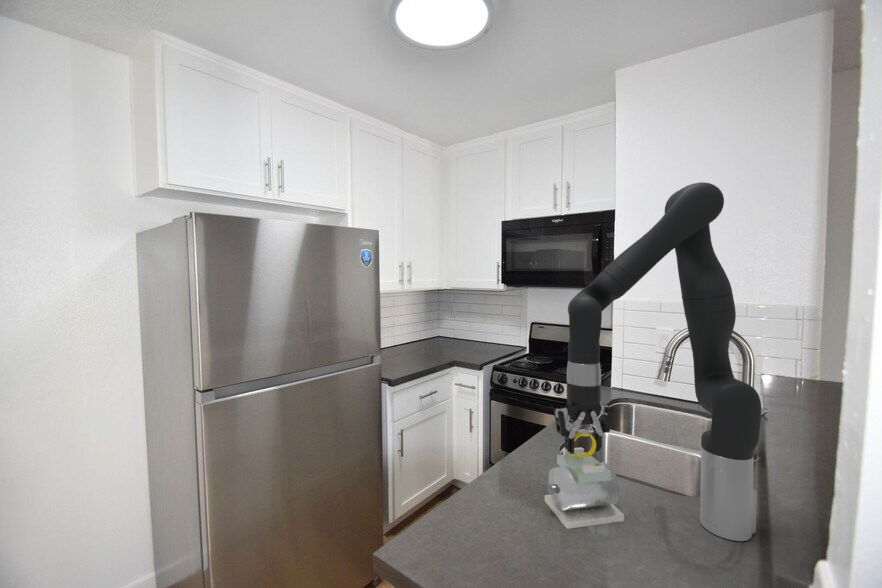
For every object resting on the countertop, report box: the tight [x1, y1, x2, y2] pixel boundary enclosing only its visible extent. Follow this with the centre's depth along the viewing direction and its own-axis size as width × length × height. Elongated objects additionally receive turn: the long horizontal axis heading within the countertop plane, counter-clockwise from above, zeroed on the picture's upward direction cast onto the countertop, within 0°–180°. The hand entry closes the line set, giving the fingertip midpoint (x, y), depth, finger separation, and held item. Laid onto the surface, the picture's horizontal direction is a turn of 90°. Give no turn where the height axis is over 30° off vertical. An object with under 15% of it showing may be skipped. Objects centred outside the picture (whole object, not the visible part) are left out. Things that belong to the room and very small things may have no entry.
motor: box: [544, 447, 625, 530], centre depth 92 cm, size 16×11×13 cm
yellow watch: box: [573, 428, 597, 457], centre depth 92 cm, size 6×3×6 cm, turn 97°
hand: (583, 451), depth 92 cm, fingers closed on yellow watch, 6 cm apart
